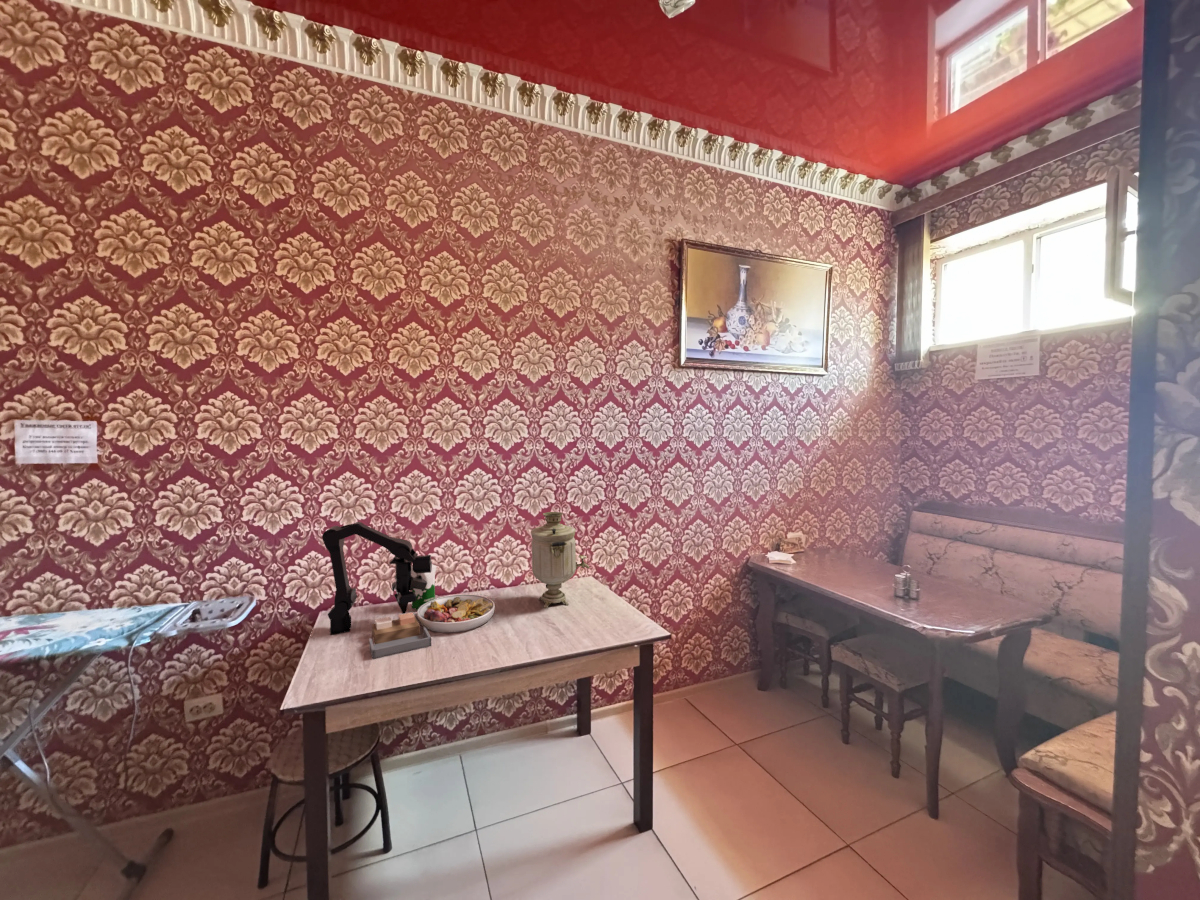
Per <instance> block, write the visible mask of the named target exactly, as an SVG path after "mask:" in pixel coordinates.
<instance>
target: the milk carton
mask: <svg viewBox="0 0 1200 900" xmlns="http://www.w3.org/2000/svg"><path fill="white" fill-rule="evenodd" d="M437 567H438V566H437V565H435V564H433V563H432V571H431V573H416V572H414V571H413V565H411V575H412V577H413V578H414V577H416V576H417V575H421V576H422V579H424V580H426V581H427V585H426V588H425V590H424V591H423V590H420V589H415V588H414V590H411V591H413V592H414V593H415V594H416V596H417V601H414V602H411V609H414V610H417V611H418V609H419V608H420V607H421V606H422V605H423V604H425V603H427V602H429V601H431V600H434V599H436V571H437Z"/></svg>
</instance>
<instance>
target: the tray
mask: <svg viewBox="0 0 1200 900" xmlns="http://www.w3.org/2000/svg"><path fill="white" fill-rule="evenodd" d="M422 632H423V633H422V634H420V635H417V636H412V637H408V638H403V639H398V640H394V641H389V642H384V643H379V644H375V643H374V641H373V639H372V638H373V637H372V638H371V637H370V638H369V639H368V648H369V654H370V655H371V656H370V657H371V659H372V660H377V659H380V658H384V657H388V656H392V655H397V654H403V653H407V652H411V651H414V650H415V651H416V650H419V649H424V648H429V647H432V636H431V635H430V633H429V631H428V629H427V628H426V627H424V626H423V629H422Z"/></svg>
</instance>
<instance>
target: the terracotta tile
mask: <svg viewBox="0 0 1200 900" xmlns="http://www.w3.org/2000/svg"><path fill="white" fill-rule="evenodd" d="M415 618H416V616H415V615H414V613H413V612H408V613H407V612H406V613H404V614H403V613H401V614H398V620H399V622H400V625H404V624H409V623H414V622H415Z"/></svg>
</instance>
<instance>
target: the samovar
mask: <svg viewBox="0 0 1200 900" xmlns="http://www.w3.org/2000/svg"><path fill="white" fill-rule="evenodd" d="M542 515H543V516H544V517H545V519H544V520H545V522H546V523H545V524H543V525H542V526H538V527H537V526H536V527H535V528H533V529H531V530H530V534H531V538H532V539H531V541H530V542H531V571H532V575H533V576H534V578H535V579H537V581H539V582H541V583H543V584H544V585H545V588H546V589H547V590H546V591H545V592H543V594H542V595H541V596H539V597H538V601H540V600H541V601H542V602H543V603H544V605H543V607H542V608H544V609H548V608H549V606H550V605H551V604H557V603H559V604H560V603H563V604H565V606H569V605H570V603H569V602H568V601H567V599H566V593H564V592H563V591H562V590H560V589H561V588H562V584H564V583H566V582H567V581H569V580H570V579H571V578H572V577H573V576H574V575H575V573H576V570H577V569H578V567H581V568H583V569H584V568H586V569H590V568H591V567H590V566H589V565H588V564H587V563H585V561H584V559H587V556H586V555H584V554H583V555H581V554H580V555H579V556H577V554H576V550H577V549H576V538H575V535H576V529H577V528H575V527H573V526H570V525H565V524H563V523H561V521H562V516H563V515H564V513H563V512H559V511H548V512H543V513H542ZM576 556H577V557H578V558H579V559H581V563H578V561H577V560H576V559H577V558H576ZM568 604H569V605H568Z"/></svg>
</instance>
